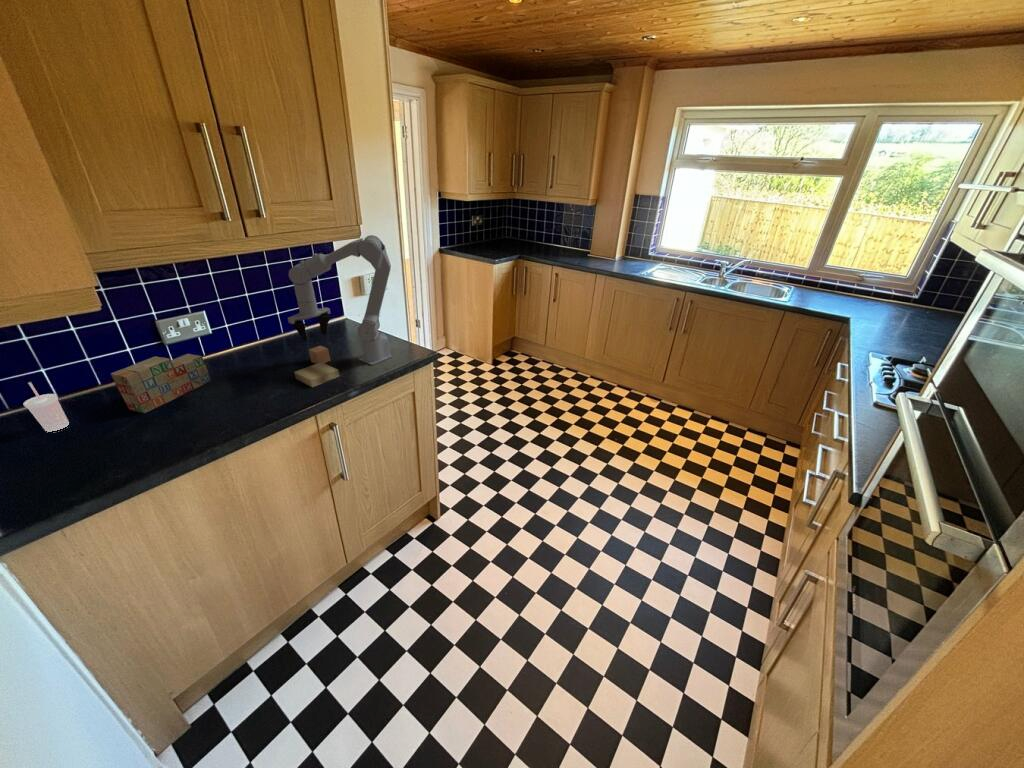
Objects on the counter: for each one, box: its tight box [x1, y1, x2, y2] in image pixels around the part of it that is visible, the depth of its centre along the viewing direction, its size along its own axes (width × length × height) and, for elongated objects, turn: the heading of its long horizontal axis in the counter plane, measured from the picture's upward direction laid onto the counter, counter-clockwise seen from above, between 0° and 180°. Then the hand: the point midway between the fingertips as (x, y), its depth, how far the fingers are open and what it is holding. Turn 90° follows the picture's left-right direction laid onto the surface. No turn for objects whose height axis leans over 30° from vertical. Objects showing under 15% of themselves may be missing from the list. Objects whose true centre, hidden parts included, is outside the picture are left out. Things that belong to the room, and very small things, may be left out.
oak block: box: [294, 362, 340, 388], centre depth 137 cm, size 10×10×3 cm
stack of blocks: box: [110, 353, 212, 414], centre depth 123 cm, size 21×6×12 cm, turn 163°
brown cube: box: [308, 345, 331, 365], centre depth 148 cm, size 5×5×5 cm
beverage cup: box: [22, 381, 70, 433], centre depth 106 cm, size 6×6×14 cm
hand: (314, 337), depth 144 cm, fingers open, 7 cm apart
